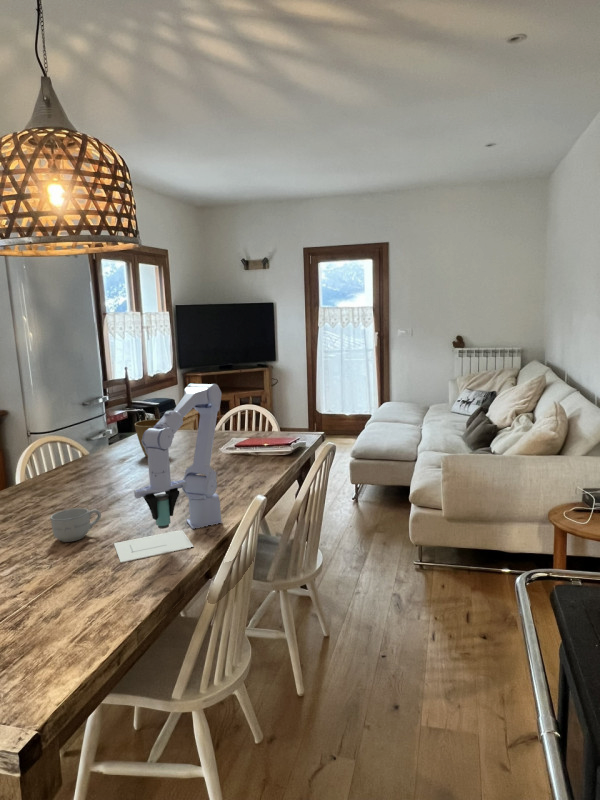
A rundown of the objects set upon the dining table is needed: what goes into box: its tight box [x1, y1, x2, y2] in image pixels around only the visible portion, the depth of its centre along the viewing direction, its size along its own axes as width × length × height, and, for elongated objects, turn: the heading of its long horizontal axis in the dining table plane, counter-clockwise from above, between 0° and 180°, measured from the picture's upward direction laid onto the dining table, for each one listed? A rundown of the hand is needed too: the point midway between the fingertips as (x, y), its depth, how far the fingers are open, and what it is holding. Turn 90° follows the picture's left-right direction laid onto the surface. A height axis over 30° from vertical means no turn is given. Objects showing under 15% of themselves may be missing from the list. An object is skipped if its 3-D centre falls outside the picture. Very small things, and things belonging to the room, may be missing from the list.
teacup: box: [49, 507, 102, 543], centre depth 168 cm, size 14×11×8 cm
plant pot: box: [134, 419, 160, 458], centre depth 260 cm, size 15×15×16 cm
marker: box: [154, 493, 172, 529], centre depth 158 cm, size 4×4×9 cm
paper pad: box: [113, 529, 195, 564], centre depth 160 cm, size 20×14×1 cm
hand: (162, 516), depth 158 cm, fingers closed on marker, 4 cm apart
